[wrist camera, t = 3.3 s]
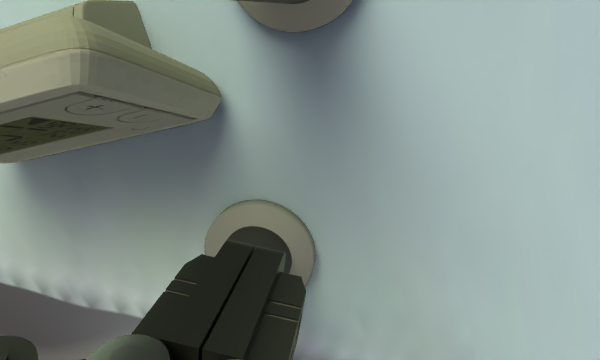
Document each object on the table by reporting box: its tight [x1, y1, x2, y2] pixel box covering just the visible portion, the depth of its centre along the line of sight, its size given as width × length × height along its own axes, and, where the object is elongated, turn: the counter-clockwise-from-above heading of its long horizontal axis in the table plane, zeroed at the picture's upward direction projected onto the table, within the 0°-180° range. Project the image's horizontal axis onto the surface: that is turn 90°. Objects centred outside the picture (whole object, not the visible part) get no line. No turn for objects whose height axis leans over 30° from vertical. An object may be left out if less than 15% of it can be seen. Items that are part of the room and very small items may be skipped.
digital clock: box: [0, 0, 221, 163], centre depth 21 cm, size 16×9×11 cm, turn 93°
